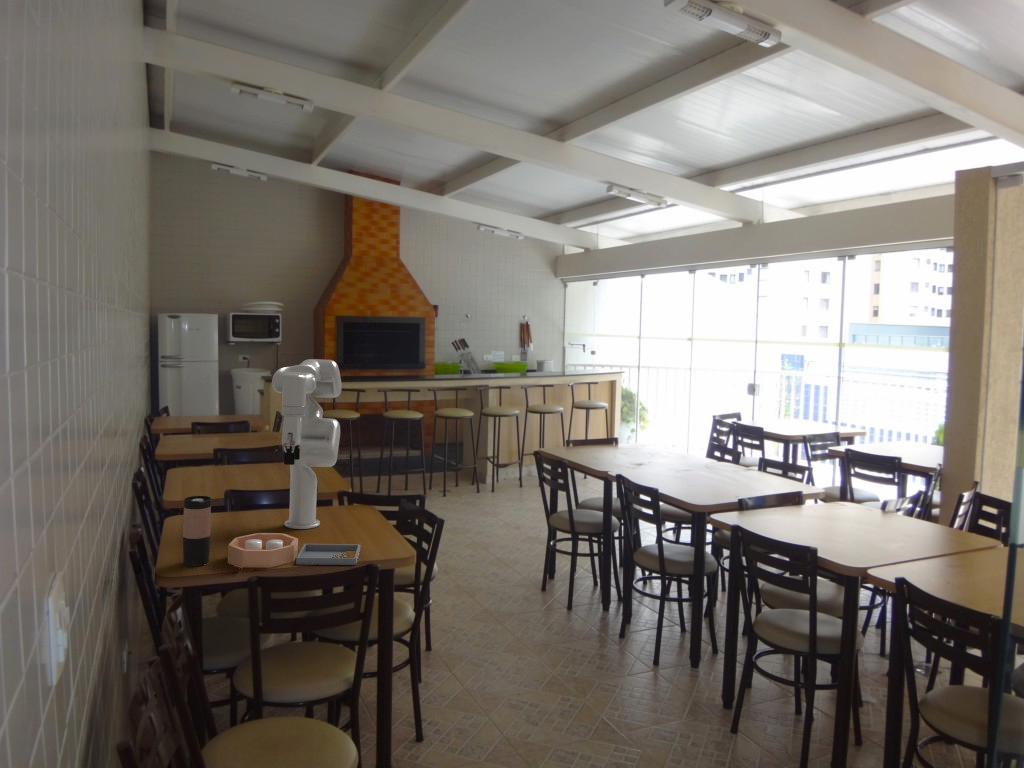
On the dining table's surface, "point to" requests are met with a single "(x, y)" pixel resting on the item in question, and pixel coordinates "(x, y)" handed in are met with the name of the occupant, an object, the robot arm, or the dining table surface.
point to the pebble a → (253, 544)
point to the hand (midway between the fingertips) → (292, 461)
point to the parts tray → (327, 554)
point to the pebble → (274, 544)
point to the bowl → (262, 551)
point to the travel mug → (196, 530)
